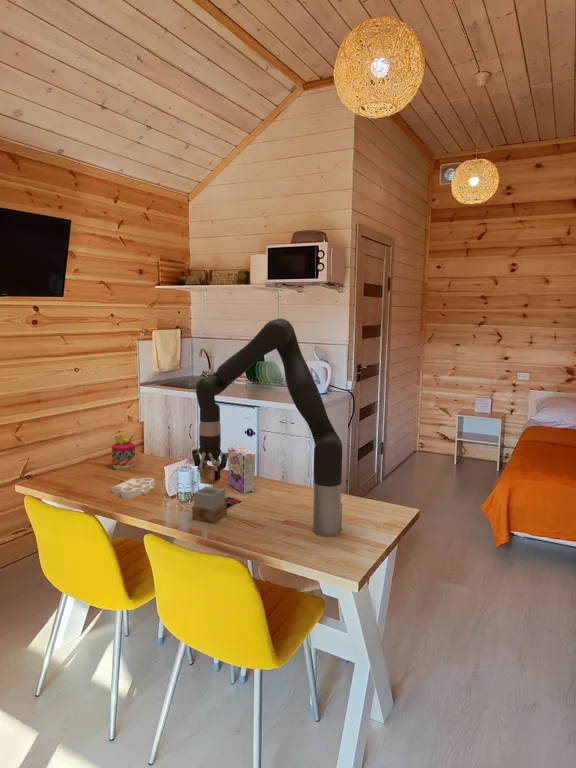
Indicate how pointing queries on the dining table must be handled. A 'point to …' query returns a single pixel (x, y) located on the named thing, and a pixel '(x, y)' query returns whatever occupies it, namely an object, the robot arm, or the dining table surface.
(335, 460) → the robot arm
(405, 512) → the dining table surface
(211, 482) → the terracotta cube
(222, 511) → the tower bottom
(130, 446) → the cake
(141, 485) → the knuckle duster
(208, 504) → the tower top
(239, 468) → the candy box
